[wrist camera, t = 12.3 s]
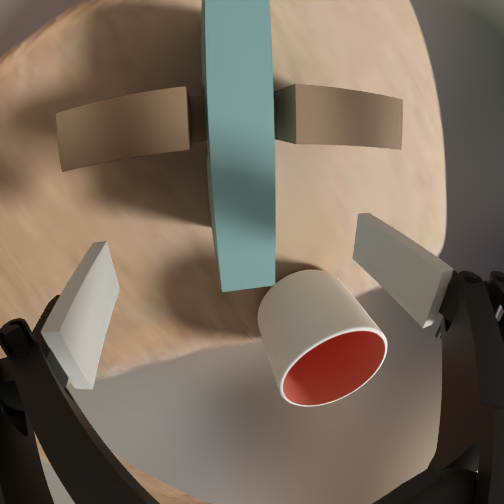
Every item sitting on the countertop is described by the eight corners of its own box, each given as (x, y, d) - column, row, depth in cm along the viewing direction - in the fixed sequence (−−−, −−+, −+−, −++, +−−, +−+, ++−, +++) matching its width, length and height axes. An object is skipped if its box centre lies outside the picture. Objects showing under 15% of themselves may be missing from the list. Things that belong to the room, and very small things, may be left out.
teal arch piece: (245, 224, 25) (275, 285, 16) (211, 227, 24) (222, 292, 15) (238, 20, 17) (266, -37, 8) (200, 21, 16) (205, -39, 7)
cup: (241, 287, 28) (263, 363, 19) (333, 249, 28) (388, 306, 19) (270, 350, 32) (293, 418, 23) (346, 317, 32) (386, 376, 24)
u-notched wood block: (115, 150, 20) (62, 172, 11) (111, 115, 18) (55, 113, 10) (328, 135, 22) (401, 149, 14) (328, 102, 21) (402, 99, 12)
